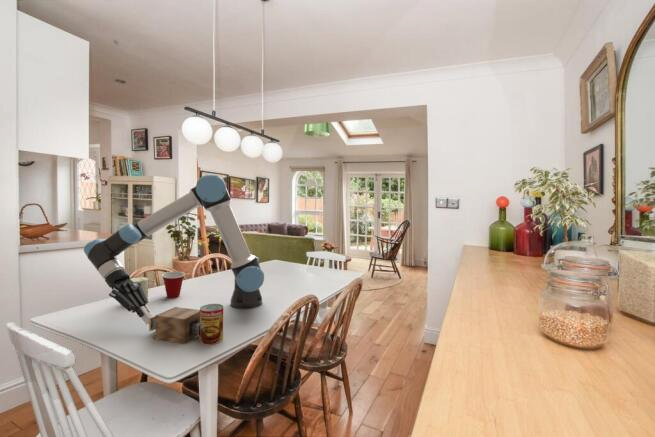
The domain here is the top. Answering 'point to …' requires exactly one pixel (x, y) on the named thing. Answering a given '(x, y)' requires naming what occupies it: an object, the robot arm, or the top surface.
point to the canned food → (211, 324)
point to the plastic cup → (173, 283)
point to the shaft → (192, 331)
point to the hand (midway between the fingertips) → (150, 321)
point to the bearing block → (176, 325)
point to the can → (142, 284)
